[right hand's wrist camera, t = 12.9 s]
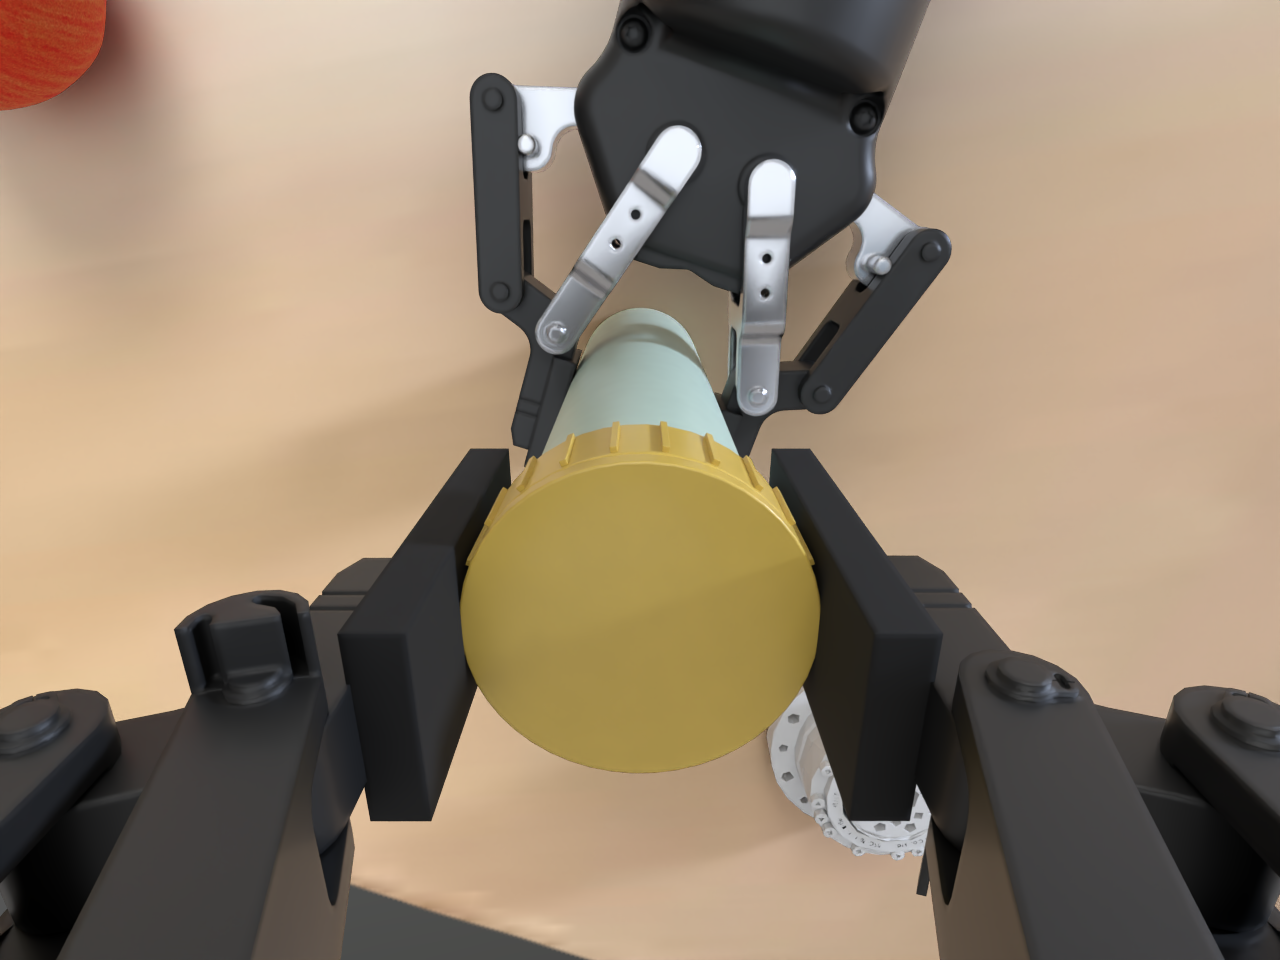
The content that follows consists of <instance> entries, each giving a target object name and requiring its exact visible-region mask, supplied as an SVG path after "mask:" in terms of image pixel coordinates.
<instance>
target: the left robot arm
mask: <svg viewBox="0 0 1280 960" xmlns="http://www.w3.org/2000/svg"><path fill="white" fill-rule="evenodd" d="M929 2H930V0H620V4H619V8H618V12H617V16H616V20H615V24H614V27H613V31H612V34H611V37H610V39H609V42H608V44H607V46H606V48H605V49H604V51H603V53H602V54H601V56H600V57H599V59H598V60H597V61H596V63H595V64H594V65H593V66H592V67H591V68H590V69H589V70H588V71H587V72H586V73H585V75H584V76H583V77H582V79H581V81H580V83H579V85H578V87H577V88H570V87H543V86H517V85H513V84H512V83H511V82H510V81H509V80H507V79H506V78H505V77H503V76H502V75H499V74H496V73H487V74H484V75H482V76H480V77H479V78H478V79H476V81H475V82H474V84H473V85H472V88H471V91H470V115H471V136H472V158H473V179H474V200H475V222H476V243H477V265H478V286H479V296H480V299H481V301H482V303H483V304H484V305H485V306H486V307H487V308H488V309H489V310H491V311H493V312H495V313H501V314H502V315H504V316H505V317H506V318H508V319H509V320H510V321H512V322H513V323H515V324H516V325H517V326H519V327H520V328H521V329H522V330H523V331H524V332H525V334H526V335H527V337H528V339H529V342H530V348H531V351H530V357H529V361H528V365H527V369H526V373H525V377H524V381H523V384H522V388H521V392H520V396H519V400H518V404H517V407H516V412H515V415H514V419H513V423H512V427H511V432H512V439H513V445H514V446H518V447H521V448H525V449H528V453H527V457H526V460H525V465H524V467H526V465H527V463H528V460H529V459H530V458H531V457H532V456H535V457H536V459H538V458H539V457H540V456H542V453H543V451H544V449H545V446H546V444H547V441H548V439H549V436H550V434H551V431H552V429H553V426H554V424H555V422H556V419H557V417H558V414H559V412H560V409H561V407H562V404H563V402H564V399H565V397H566V395H567V392H568V390H569V387H570V385H571V382H572V380H573V378H574V375H575V373H576V370H577V366H578V363H579V359H580V356H581V352H582V350H579V349H576V348H577V344H578V341H579V337H580V336H581V334H582V333H583V331H584V330H585V328H586V327H587V325H588V324H589V323H590V321H591V320H592V318H593V317H594V315H595V314H596V312H597V311H598V309H599V308H600V306H601V305H602V304H603V302H604V301H605V299H606V298H607V296H608V295H609V294H610V292H611V291H612V290H613V288H614V287H615V285H616V284H617V282H618V281H619V280H620V278H621V277H622V275H623V274H624V272H625V271H626V269H627V268H628V266H629V265H630V263H631V262H632V260H633V259H634V260H636V261H639V262H642V263H645V264H648V265H652V266H655V267H658V268H667V269H687V270H690V271H692V272H693V273H695V274H696V275H698V276H699V277H701V278H702V279H704V280H705V281H707V282H708V283H710V284H711V285H713V286H715V287H719V288H722V289H725V290H728V323H729V344H728V377H727V382H726V385H725V387H724V390H723V393H722V394H718V393H714V395H715V398H716V400H717V403H718V405H719V408H720V410H721V413H722V415H723V418H724V420H725V423H726V425H727V427H728V430H729V432H730V435H731V437H732V440H733V442H734V445H735V447H736V450H737V452H738V455H739V456H740V457H741V458H744V457H745V456H746V455H747V456H748V457H749V455H750V452H751V449H752V447H753V444H754V442H755V439H756V437H757V434H758V431H759V429H760V427H761V425H762V423H763V422H764V420H765V419H766V418H767V417H768V416H770V415H771V414H773V413H775V412H778V411H783V410H802V409H807V410H808V411H810V412H811V413H814V414H825V413H828V412H830V411H832V410H833V409H834V408H836V406H837V405H838V404H839V403H840V401H841V400H842V399H843V398H844V396H845V395H846V394H847V392H848V391H849V390H850V388H851V387H852V386H853V385H854V383H855V382H856V381H857V379H858V378H859V377H860V375H861V374H862V373H863V372H864V370H865V369H866V368H867V366H868V365H869V364H870V362H871V361H872V360H873V359H874V357H875V356H876V355H877V353H878V352H879V351H880V349H881V348H882V347H883V346H884V344H885V343H886V342H887V340H888V339H889V338H890V336H891V335H892V334H893V333H894V331H895V330H896V329H897V327H898V326H899V325H900V323H901V322H902V321H903V320H904V318H905V317H906V316H907V314H908V313H909V312H910V310H911V309H912V308H913V307H914V305H915V304H916V303H917V301H918V300H919V299H920V298H921V296H922V295H923V294H924V292H925V291H926V290H927V288H928V287H929V286H930V285H931V283H932V282H933V281H934V279H935V278H936V277H937V275H938V274H939V273H940V272H941V270H942V269H943V268H944V266H945V265H946V264H947V262H948V260H949V258H950V255H951V250H952V248H951V242H950V239H949V237H948V236H947V235H946V234H945V233H944V232H943V231H941V230H938V229H930V228H927V227H919V226H917V225H916V224H915V223H913V222H912V221H911V220H909V219H908V218H907V217H905V216H904V215H903V214H902V213H900V212H899V211H898V210H896V209H895V208H894V207H892V206H891V205H890V204H888V203H887V202H886V201H884V200H883V199H882V198H880V197H879V196H878V195H877V194H875V193H874V192H875V187H876V169H875V146H876V140H877V136H878V132H879V129H880V127H881V124H882V122H883V119H884V117H885V114H886V112H887V110H888V107H889V105H890V102H891V99H892V97H893V94H894V92H895V89H896V87H897V84H898V82H899V79H900V76H901V74H902V71H903V69H904V66H905V64H906V61H907V59H908V56H909V53H910V51H911V48H912V46H913V43H914V41H915V38H916V36H917V33H918V30H919V28H920V25H921V23H922V20H923V18H924V15H925V13H926V10H927V7H928V5H929ZM572 130H578V131H579V134H580V137H581V141H582V144H583V147H584V150H585V153H586V156H587V159H588V162H589V165H590V168H591V171H592V174H593V177H594V180H595V183H596V186H597V189H598V192H599V195H600V198H601V201H602V204H603V207H604V211H605V214H606V218H605V219H604V221H603V222H602V224H601V225H600V227H599V228H598V230H597V231H596V233H595V234H594V236H593V237H592V239H591V240H590V242H589V244H588V245H587V247H586V248H585V250H584V251H583V253H582V254H581V256H580V257H579V259H578V260H577V262H576V264H575V265H574V267H573V269H572V270H571V272H570V274H569V275H568V277H567V278H566V280H565V281H564V283H563V284H562V286H561V287H560V289H559V290H558V292H557V293H556V294H555V293H554V292H553V291H551V290H550V289H549V288H547V287H546V286H545V285H544V284H542V283H541V282H540V281H538V280H537V279H536V278H534V259H533V208H532V173H539V172H543V171H545V170H546V169H548V168H549V167H550V166H551V165H552V163H553V161H554V159H555V155H556V148H557V144H558V142H559V140H560V139H561V137H562V136H563V135H564V134H566V133H567V132H569V131H572ZM847 226H850V228H851V230H852V233H853V245H852V248H851V250H850V252H849V254H848V256H847V259H846V270H847V273H848V275H849V276H850V278H851V279H853V280H852V281H851V283H850V284H849V285H848V287H847V288H846V289H845V291H844V292H843V294H842V295H841V296H840V298H839V299H838V300H837V302H836V303H835V304H834V306H833V307H832V309H831V310H830V311H829V313H828V314H827V315H826V317H825V318H824V320H823V321H822V322H821V324H820V325H819V326H818V328H817V329H816V330H815V332H814V333H813V335H812V336H811V337H810V339H809V340H808V341H807V343H806V344H805V346H804V347H803V348H802V350H801V351H800V352H799V354H798V355H797V357H796V358H795V359H794V361H786V362H780V348H781V339H782V336H783V334H784V331H785V322H786V306H787V289H788V271H789V269H790V268H791V267H793V266H794V265H795V264H797V263H798V262H799V261H801V260H802V259H804V258H805V257H806V256H808V255H809V254H810V253H812V252H813V251H814V250H816V249H817V248H819V247H820V246H821V245H823V244H824V243H825V242H827V241H828V240H829V239H831V238H832V237H834V236H835V235H836V234H838V233H839V232H840V231H842V230H843V229H845V228H846V227H847ZM616 240H617V242H618V243H619V244H618V243H617V242H616Z"/></svg>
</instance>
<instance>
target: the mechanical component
mask: <svg viewBox="0 0 1280 960" xmlns="http://www.w3.org/2000/svg"><path fill="white" fill-rule="evenodd" d="M766 737H767V742H768V748H769V753H770V759H771V764H772V768H773V771H774V774H775V778H776V781H777V783H778V785H779V786H780V788H781V789H782V791H783V792H784V794H785V795H786V797H787V798H788V799H789V800H790V801H791V802H792V803H793V804H795V805H796V806H797V807H798V808H799V809H800V810H801V811H803V812H804V813H805V814H807V815H809V816H811V817H813V818H814V819H815V821H816V822H817V823H818V824H819V825H820V826H821V828H822V831H823V834H824V836H826V837H830V838H832V839H834V840H835V841H837V842H839V843H840V844H842V845H844V846H845V847H848V848H851V850H852V853H853V854H854V855H855V856H862V855H863V854H865V853H871V854H878V855H884V854H890V855H891V857H892V858H893V859H894V860H901V859H902V858H904V853H906V852H912V854H913V855H914V856H922V855H923V853H924V848H925V843H926V837H927V832H928V827H929V822H930V817H931V813H930V811H929V809H928V807H927V805H926V803H925V800H924V798H923V796H922V794H921V792H920V790H919V788H918V786H917V785H916V790H915V796H914V801H913V807H912V812H911V818H910V821H849V819H848V816H847V813H846V810H845V807H844V804H843V802H842V799H841V796H840V793H839V790H838V787H837V784H836V781H835V778H834V775H833V772H832V770H831V767H830V764H829V761H828V758H827V755H826V752H825V749H824V746H823V743H822V740H821V738H820V735H819V732H818V729H817V726H816V723H815V720H814V717H813V714H812V711H811V708H810V706H809V703H808V700H807V697H806V694H805V691H804V688H803V686H802V687H801V689H800V691H799V693H798V694H797V696H796V697H795V698H794V700H793V701H792V702H791V704H790V705H789V706H788V708H787V709H786V710H785V711H784V712H783V713H782V714H781V715H780V716H779V717H778V719H777V720H776V721H775V722H774V723H773V724H772V725H771V726H769V728H768V732H767V736H766Z"/></svg>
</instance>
